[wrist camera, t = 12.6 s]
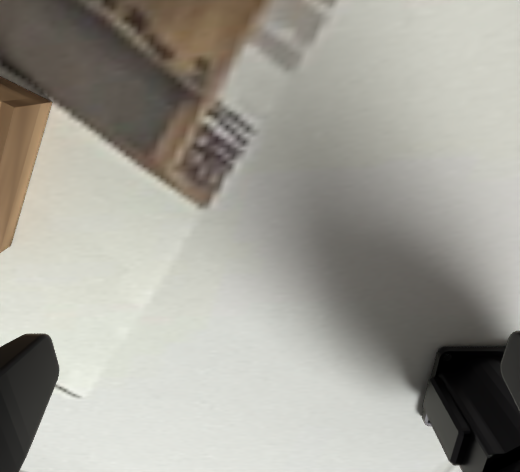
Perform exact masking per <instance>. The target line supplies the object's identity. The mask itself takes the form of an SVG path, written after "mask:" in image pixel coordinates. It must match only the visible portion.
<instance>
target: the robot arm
mask: <svg viewBox="0 0 520 472" xmlns="http://www.w3.org/2000/svg"><path fill="white" fill-rule="evenodd" d="M447 354H448V355H447ZM445 355H447V356H445ZM58 376H59V364H58V361H57V357H56V353H55V350H54V346H53V343H52V340H51V338H50V336H49V335H47V334H24V335H22V336H20V337H18V338H16V339H15V340H13V341H11V342H9V343H7V344H5V345H3V346H1V347H0V472H19V470H20V468H21V466H22V464H23V462H24V460H25V458H26V456H27V454H28V451H29V449H30V447H31V444H32V442H33V440H34V437H35V435H36V432H37V430H38V427H39V425H40V422H41V420H42V417H43V415H44V412H45V410H46V407H47V405H48V402H49V400H50V397H51V395H52V392H53V390H54V387H55V385H56V382H57V380H58ZM423 409H424V410H423V414H422V419H423V421H424V423H425V425H427V426H432V427H433V429H434V431H435V433H436V435H437V437H438V439H439V441H440V443H441V445H442V448H443V450H444V452H445V454H446V456H447V458H448V460H449V461H450V462H451V463H452V464H453V465H459V466H460V468H461V470H462V472H520V331H515V332H513V333H512V334H511V335H510V337H509V339H508V342H507V346H506V347H443V348H441V349H439V350H438V352H437V355H436V359H435V363H434V368H433V372H432V376H431V378H430V379H429V381H428V386H427V390H426V394H425V399H424V403H423Z"/></svg>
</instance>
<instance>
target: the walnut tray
mask: <svg viewBox="0 0 520 472" xmlns="http://www.w3.org/2000/svg"><path fill="white" fill-rule="evenodd" d="M51 105H52V102H51V101H49V100H47V99H45V98H43V97H41V96H39V95H37V94H35V93H33V92H31V91H29V90H27V89H25V88H23V87H21V86H19V85H17V84H15V83H13V82H11V81H9V80H7V79H5V78H3V77H1V76H0V253H1V252H2V251H4V250H5V249H7V248H8V247H10V246H11V243H12V240H13V236H14V233H15V229H16V226H17V223H18V219H19V216H20V212H21V209H22V205H23V202H24V198H25V195H26V191H27V188H28V184H29V181H30V178H31V174H32V171H33V167H34V164H35V160H36V157H37V153H38V150H39V146H40V143H41V140H42V136H43V133H44V129H45V126H46V122H47V119H48V115H49V112H50V108H51Z"/></svg>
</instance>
